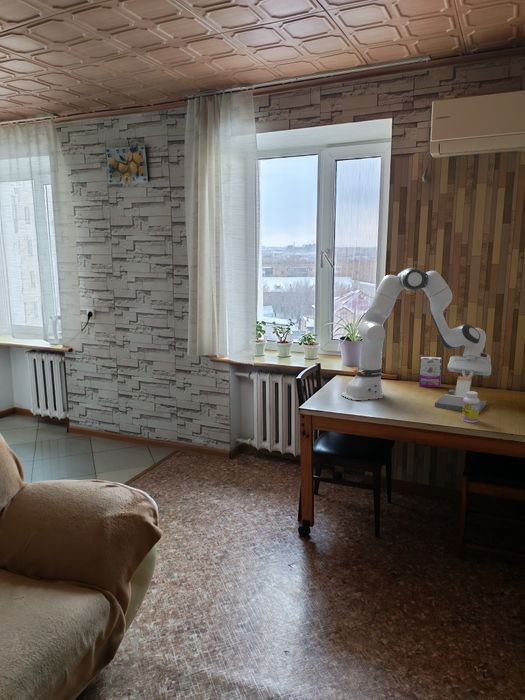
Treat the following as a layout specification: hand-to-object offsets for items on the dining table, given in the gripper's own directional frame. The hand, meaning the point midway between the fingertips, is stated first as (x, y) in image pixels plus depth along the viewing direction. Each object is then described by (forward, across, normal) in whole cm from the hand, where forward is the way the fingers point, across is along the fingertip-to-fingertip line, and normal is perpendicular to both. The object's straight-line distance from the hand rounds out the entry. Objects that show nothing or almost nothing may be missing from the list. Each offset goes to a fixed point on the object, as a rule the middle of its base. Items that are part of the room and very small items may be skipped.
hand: (466, 379), depth 246 cm
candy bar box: (-7, -24, +23) cm, 34 cm away
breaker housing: (+14, 0, +2) cm, 14 cm away
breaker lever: (+12, 0, 0) cm, 12 cm away
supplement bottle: (+29, +9, -13) cm, 33 cm away
